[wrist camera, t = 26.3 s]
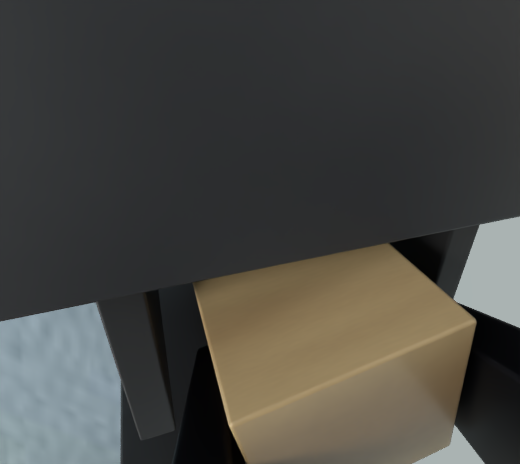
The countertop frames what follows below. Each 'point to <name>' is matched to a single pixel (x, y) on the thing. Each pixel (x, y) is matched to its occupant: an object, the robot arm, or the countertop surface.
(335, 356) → the block
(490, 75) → the dark grey drawer box
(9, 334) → the countertop surface
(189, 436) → the robot arm
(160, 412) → the dark grey drawer
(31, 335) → the countertop surface
